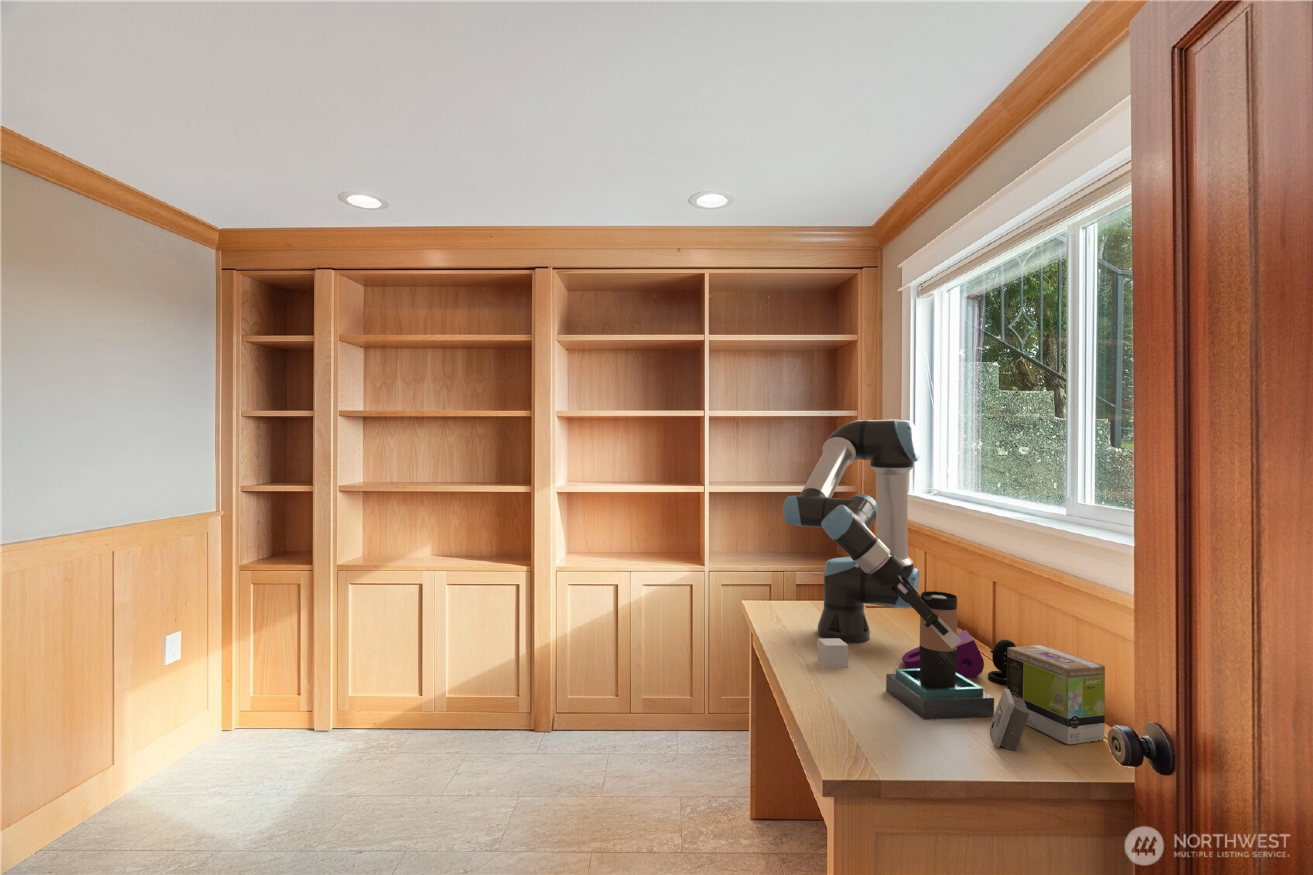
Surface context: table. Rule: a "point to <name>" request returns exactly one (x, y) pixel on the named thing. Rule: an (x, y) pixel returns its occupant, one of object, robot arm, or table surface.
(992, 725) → the electrical switch
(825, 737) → the table surface
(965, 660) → the mounting bracket
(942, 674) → the travel mug
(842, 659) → the light grey cube
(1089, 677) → the tea box
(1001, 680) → the webcam
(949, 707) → the block with teal frame
